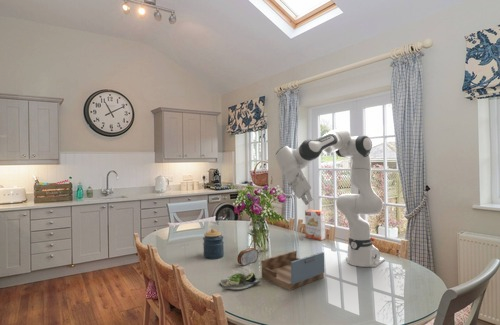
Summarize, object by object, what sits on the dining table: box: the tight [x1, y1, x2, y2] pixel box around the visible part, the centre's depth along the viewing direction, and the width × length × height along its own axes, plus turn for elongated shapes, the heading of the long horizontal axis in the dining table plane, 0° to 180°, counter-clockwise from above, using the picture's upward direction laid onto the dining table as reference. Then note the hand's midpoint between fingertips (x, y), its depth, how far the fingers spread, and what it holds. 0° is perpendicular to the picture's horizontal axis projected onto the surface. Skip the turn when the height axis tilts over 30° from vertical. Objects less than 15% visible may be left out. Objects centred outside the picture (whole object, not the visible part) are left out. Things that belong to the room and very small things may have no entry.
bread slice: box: [237, 247, 259, 267], centre depth 182 cm, size 15×3×8 cm, turn 134°
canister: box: [202, 228, 225, 260], centre depth 197 cm, size 13×13×18 cm
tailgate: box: [291, 252, 325, 284], centre depth 149 cm, size 22×2×10 cm, turn 127°
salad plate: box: [219, 272, 261, 291], centre depth 152 cm, size 19×18×5 cm
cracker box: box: [304, 208, 326, 241], centre depth 233 cm, size 14×6×21 cm, turn 43°
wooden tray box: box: [260, 250, 325, 291], centre depth 158 cm, size 24×20×9 cm
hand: (309, 202), depth 148 cm, fingers open, 8 cm apart
